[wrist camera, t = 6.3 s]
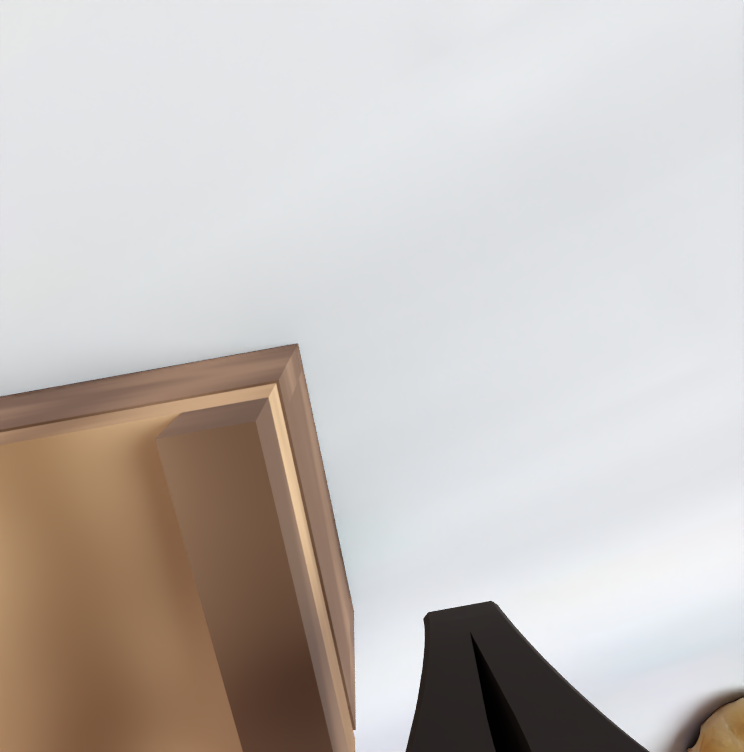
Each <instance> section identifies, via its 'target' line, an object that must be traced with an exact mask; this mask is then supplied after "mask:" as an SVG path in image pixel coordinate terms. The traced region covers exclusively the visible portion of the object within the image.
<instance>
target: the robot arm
mask: <svg viewBox="0 0 744 752" xmlns="http://www.w3.org/2000/svg"><path fill="white" fill-rule="evenodd" d="M424 626H425V648H424V659H423V669H422V675H421V681H420V688H419V694H418V700H417V705H416V710H415V714H414V719H413V723H412V727H411V732H410V736H409V740H408V744H407V748H406V752H649V751H648V750H647V749H645V748H644V747H643V746H641V745H640V744H639V743H638V742H636V741H635V740H634V739H632V738H631V737H630V736H629V735H628V734H626V733H625V732H624V731H623V730H621V729H620V728H619V727H618V726H617V725H615V724H614V723H613V722H612V721H611V720H610V719H608V718H607V717H606V716H605V715H604V714H603V713H602V712H600V711H599V710H598V709H597V708H596V707H595V706H594V705H593V704H591V703H590V702H589V701H588V700H587V699H586V698H585V697H584V696H582V695H581V694H580V693H579V692H578V691H577V690H576V689H575V688H574V687H573V686H572V685H571V684H570V683H569V682H568V681H567V680H566V679H565V678H563V677H562V676H561V675H560V674H559V673H558V672H557V671H556V670H555V669H554V668H553V667H552V666H551V665H550V664H549V663H548V662H547V661H546V660H545V659H544V658H543V657H542V656H541V654H540V653H539V652H538V651H537V650H536V649H535V648H534V647H533V646H532V645H531V644H530V643H529V642H528V641H527V639H526V638H525V637H524V636H523V635H522V634H521V633H520V632H519V631H518V629H517V628H516V627H515V626H514V625H513V624H512V622H511V621H510V620H509V619H508V618H507V616H506V615H505V614H504V613H503V611H502V610H501V609H500V607H499V606H498V605H497V604H495V603H494V602H492V601H488V602H483V603H477V604H472V605H466V606H461V607H455V608H450V609H444V610H438V611H433V612H428V613H427V615H426V616H425V617H424Z"/></svg>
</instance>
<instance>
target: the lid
mask: <svg viewBox="0 0 744 752" xmlns="http://www.w3.org/2000/svg"><path fill="white" fill-rule="evenodd" d="M0 752H355V737H354V733H353V728H352V724H351V719H350V715H349V710H348V706H347V701H346V697H345V692H344V688H343V683H342V679H341V674H340V670H339V665H338V661H337V656H336V652H335V647H334V643H333V638H332V633H331V629H330V624H329V620H328V615H327V611H326V606H325V602H324V597H323V593H322V588H321V584H320V579H319V575H318V570H317V566H316V561H315V557H314V552H313V548H312V543H311V539H310V534H309V530H308V525H307V521H306V516H305V512H304V507H303V502H302V498H301V493H300V489H299V484H298V480H297V475H296V471H295V466H294V462H293V457H292V453H291V448H290V444H289V439H288V435H287V430H286V426H285V421H284V417H283V412H282V408H281V403H280V399H279V394H278V390H277V385H276V383H274V384H268V385H263V386H257V387H252V388H246V389H240V390H235V391H229V392H224V393H218V394H212V395H207V396H201V397H196V398H190V399H185V400H179V401H173V402H168V403H162V404H157V405H151V406H145V407H140V408H134V409H129V410H123V411H117V412H112V413H106V414H101V415H95V416H89V417H84V418H78V419H73V420H67V421H62V422H56V423H50V424H45V425H39V426H34V427H28V428H22V429H17V430H11V431H6V432H0Z"/></svg>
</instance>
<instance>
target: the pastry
mask: <svg viewBox="0 0 744 752" xmlns="http://www.w3.org/2000/svg"><path fill="white" fill-rule="evenodd" d="M687 752H744V697H743V698H740V699H739V700H737V701H735V702H731V703H728V704H725V705H723V706H721V707H720V708H718V709H717V710H716V711H715V712H714V713H713V714H712V715H711V716H710V717H709V718H708V719H707V720H706V721H705V722H704V723H703V724H701V731H700V736H699V738H698V741H697V743H696V744H695V745H694V747H693V748H691V749H690V748H688V750H687Z"/></svg>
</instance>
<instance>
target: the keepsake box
mask: <svg viewBox="0 0 744 752" xmlns="http://www.w3.org/2000/svg"><path fill="white" fill-rule="evenodd" d="M274 383H276V385H277V390H278V394H279V399H280V403H281V408H282V412H283V417H284V421H285V426H286V430H287V435H288V439H289V444H290V448H291V453H292V457H293V462H294V466H295V471H296V475H297V480H298V484H299V489H300V493H301V498H302V502H303V507H304V512H305V516H306V521H307V525H308V530H309V534H310V539H311V543H312V548H313V552H314V557H315V561H316V566H317V570H318V575H319V579H320V584H321V588H322V593H323V597H324V602H325V606H326V611H327V615H328V620H329V624H330V629H331V633H332V638H333V643H334V647H335V652H336V656H337V661H338V665H339V670H340V674H341V679H342V683H343V688H344V692H345V697H346V701H347V706H348V710H349V715H350V719H351V724H352V728H353V730H356V723H355V660H354V610H353V605H352V601H351V596H350V591H349V586H348V581H347V577H346V572H345V567H344V562H343V557H342V553H341V548H340V543H339V538H338V533H337V528H336V524H335V519H334V514H333V509H332V504H331V500H330V495H329V490H328V485H327V480H326V476H325V471H324V466H323V461H322V456H321V452H320V447H319V442H318V437H317V432H316V427H315V423H314V418H313V413H312V408H311V403H310V399H309V394H308V389H307V384H306V379H305V375H304V370H303V365H302V360H301V355H300V351H299V346H298V344H292V345H287V346H281V347H276V348H270V349H264V350H259V351H253V352H248V353H242V354H236V355H231V356H225V357H220V358H214V359H208V360H203V361H197V362H192V363H186V364H180V365H175V366H169V367H164V368H158V369H152V370H147V371H141V372H136V373H130V374H124V375H119V376H113V377H108V378H102V379H97V380H91V381H85V382H80V383H74V384H69V385H63V386H57V387H52V388H46V389H41V390H35V391H29V392H24V393H18V394H13V395H7V396H1V397H0V432H6V431H11V430H17V429H22V428H28V427H34V426H39V425H45V424H50V423H56V422H62V421H67V420H73V419H78V418H84V417H89V416H95V415H101V414H106V413H112V412H117V411H123V410H129V409H134V408H140V407H145V406H151V405H157V404H162V403H168V402H173V401H179V400H185V399H190V398H196V397H201V396H207V395H212V394H218V393H224V392H229V391H235V390H240V389H246V388H252V387H257V386H263V385H268V384H274Z"/></svg>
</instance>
